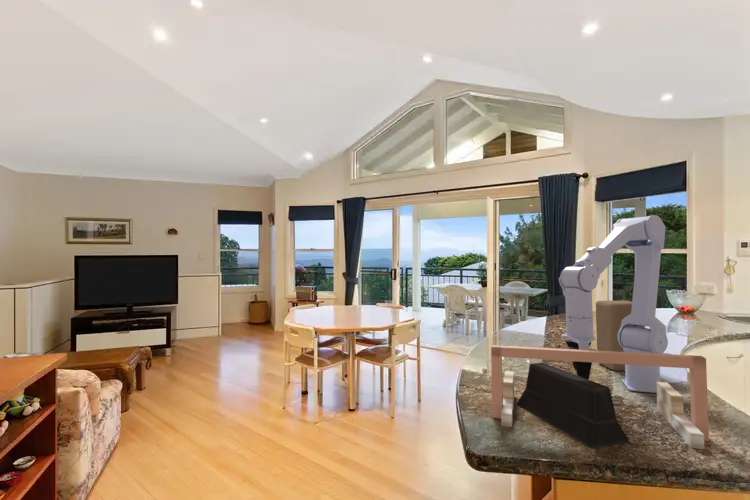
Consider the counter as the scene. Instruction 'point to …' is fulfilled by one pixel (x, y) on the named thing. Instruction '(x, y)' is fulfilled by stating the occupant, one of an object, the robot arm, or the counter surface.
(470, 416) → the counter surface
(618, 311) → the wooden block
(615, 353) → the arch
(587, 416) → the barrier
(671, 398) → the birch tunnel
